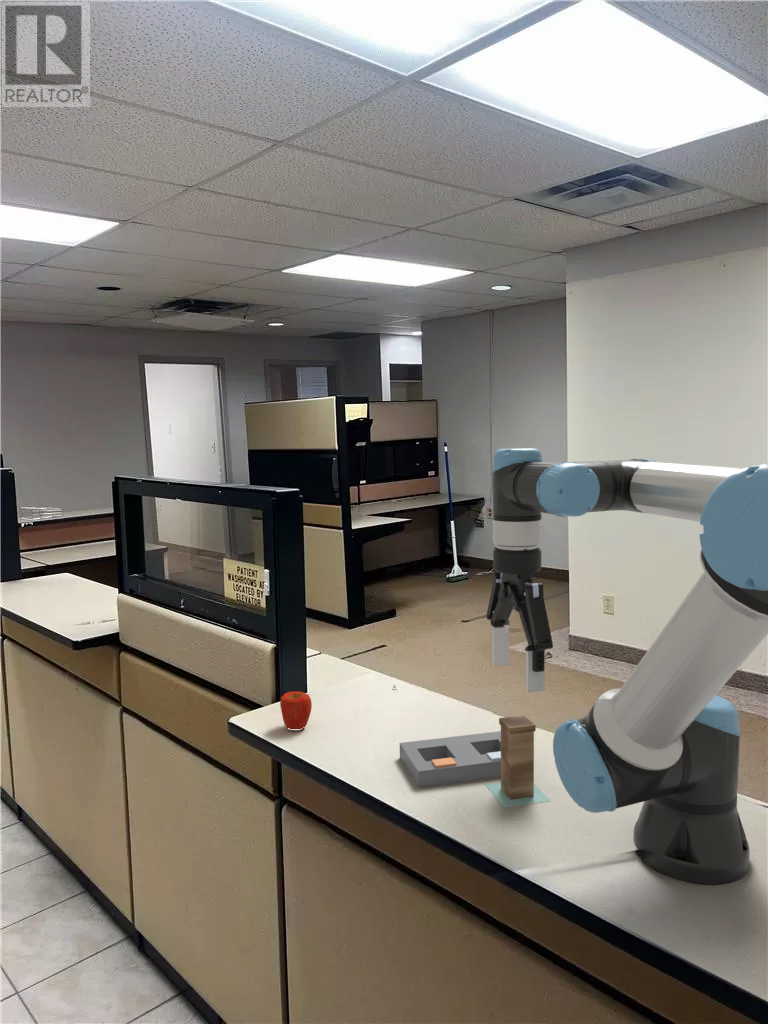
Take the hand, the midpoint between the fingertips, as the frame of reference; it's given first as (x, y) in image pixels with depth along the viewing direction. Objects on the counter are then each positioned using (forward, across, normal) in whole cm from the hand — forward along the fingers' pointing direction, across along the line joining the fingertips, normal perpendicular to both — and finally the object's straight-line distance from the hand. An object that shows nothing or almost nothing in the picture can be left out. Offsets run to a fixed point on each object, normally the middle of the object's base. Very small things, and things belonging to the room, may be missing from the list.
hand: (517, 677), depth 119 cm
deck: (+20, 0, 0) cm, 21 cm away
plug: (+19, 0, 0) cm, 19 cm away
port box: (+20, +12, +5) cm, 24 cm away
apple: (+21, +40, +31) cm, 55 cm away
